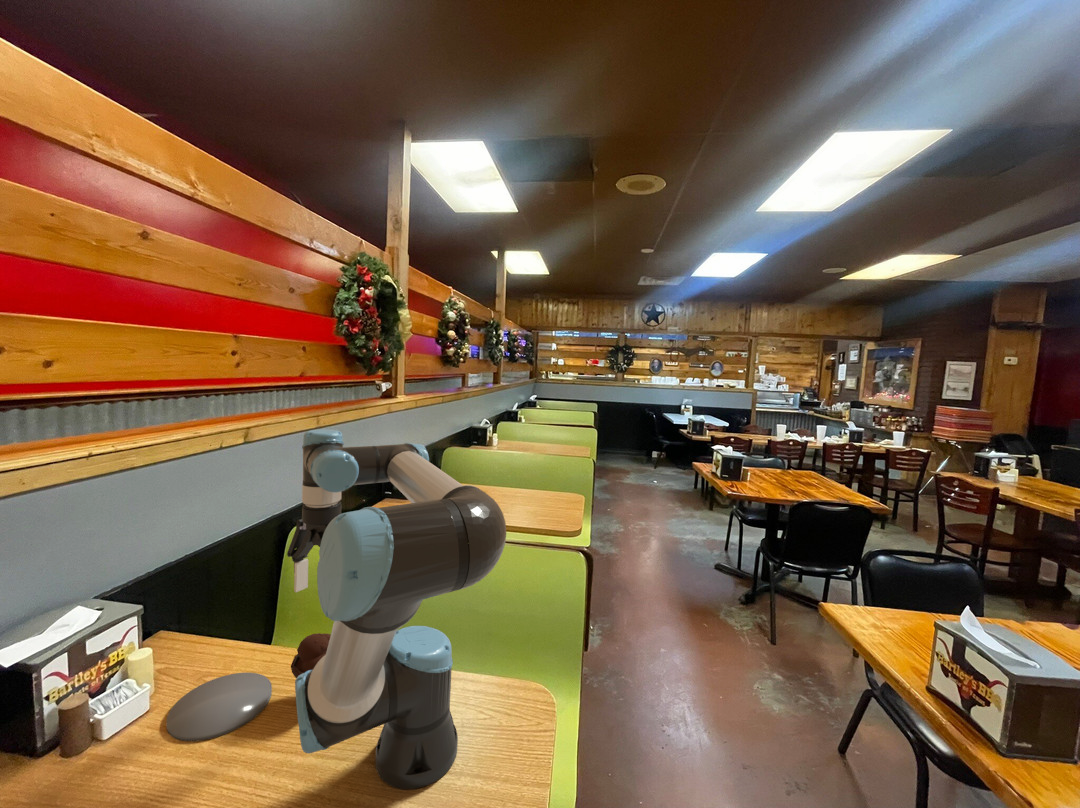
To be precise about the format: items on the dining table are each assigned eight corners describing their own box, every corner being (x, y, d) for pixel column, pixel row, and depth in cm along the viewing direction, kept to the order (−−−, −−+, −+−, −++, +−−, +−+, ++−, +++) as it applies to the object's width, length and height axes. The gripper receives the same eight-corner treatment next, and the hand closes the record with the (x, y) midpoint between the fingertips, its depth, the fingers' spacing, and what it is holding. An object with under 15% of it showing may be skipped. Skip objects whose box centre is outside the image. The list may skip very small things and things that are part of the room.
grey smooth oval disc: (289, 696, 97) (289, 691, 97) (194, 756, 81) (194, 751, 81) (243, 666, 106) (243, 662, 106) (149, 716, 90) (149, 711, 90)
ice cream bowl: (332, 719, 92) (333, 650, 90) (279, 715, 92) (280, 646, 91) (354, 683, 102) (356, 621, 101) (307, 680, 102) (308, 618, 101)
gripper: (377, 509, 91) (374, 607, 93) (302, 488, 103) (301, 576, 105) (346, 519, 85) (344, 625, 86) (269, 495, 96) (269, 589, 98)
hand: (320, 598), depth 95 cm, fingers open, 13 cm apart
